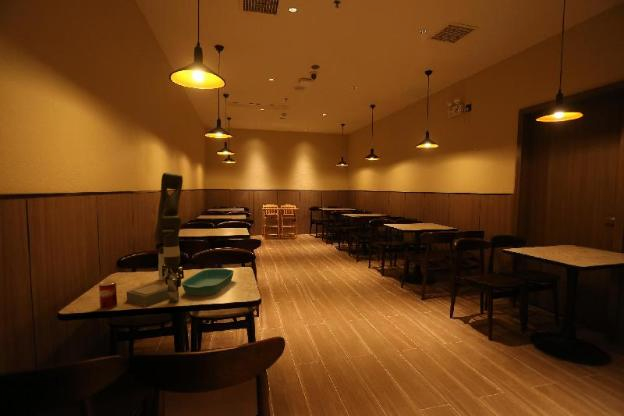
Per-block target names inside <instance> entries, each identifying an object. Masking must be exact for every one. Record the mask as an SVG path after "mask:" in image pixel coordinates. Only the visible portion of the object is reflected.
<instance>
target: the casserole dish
mask: <svg viewBox="0 0 624 416" xmlns="http://www.w3.org/2000/svg"><path fill="white" fill-rule="evenodd" d="M234 273H235V271H234V270H233V269H228V268H221V267H220V268H219V267H217V268H208V269H204V270H203V269H202V270H201V271H199V272H196V273H195V274H193V275H191V276H190V277H187V278H186V279H184V280H183V281H181V287H182V288H183V291H184V292H185V294H187V295H188V296H203V297H204V296H205V297H206V296H207V297H208V296H213V295H215V294H217V293H219V292H220V291H221V290H223V289H224V288H225V287H227V285H228V284H230V283H231V281H232V280H233V277H234Z"/></svg>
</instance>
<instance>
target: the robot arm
mask: <svg viewBox="0 0 624 416" xmlns="http://www.w3.org/2000/svg"><path fill="white" fill-rule="evenodd" d="M183 179H184V178H183V175H182V174H179V173H174V172H163V173H162V176H161V181H160V182H161V183H160V199H159V204H158V211H157V212H158V213H157V222H156V227H155V231H154V240H155V242H156V243H160V244H162V243H163V246H161V247H159V248H158V264H157V267H158V279H159V281H162V282H163V281H165V282H164V283H165V286H168V282H167V279H169V278H176V287H178V288H180V287H182V284H181V283H182V280H183V279H185V274H184V273H185V272H184V267H183V266H179V264H180V263H181V254H180V253H181V251H180V246H179V245H180V244H179V243H180V242H179V241H180V239H179V235H180V231H181V226H182V218H181V217H180V216H178V215H179V208H180V207H179V205H180V199H181V195H182V190H183V183H184V180H183ZM168 190H174V191H173V192H172V193H171V194H169V191H168Z"/></svg>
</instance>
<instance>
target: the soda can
mask: <svg viewBox="0 0 624 416" xmlns="http://www.w3.org/2000/svg"><path fill="white" fill-rule="evenodd" d="M117 293H118V292H117V283H116V281H111V280H110V281H104V282H101V283H100V284H99V285H98V294H99V308H100V309H101V308H102V309H101V310H110V309H113V307H114V308H116V307H117V305H118V294H117ZM109 308H110V309H109Z"/></svg>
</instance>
